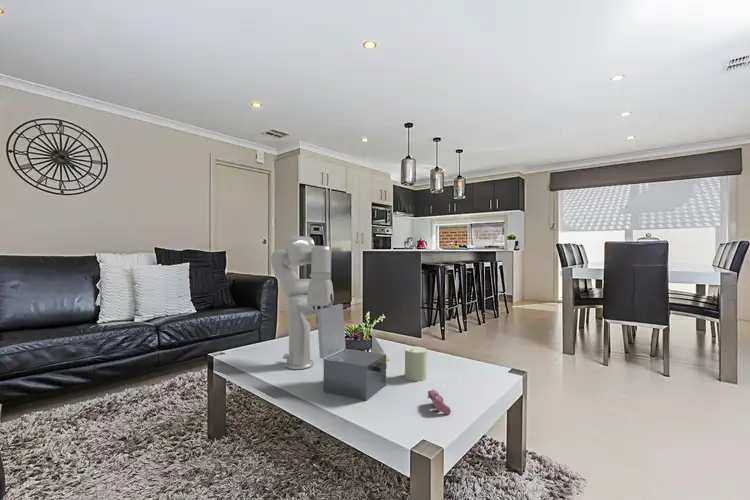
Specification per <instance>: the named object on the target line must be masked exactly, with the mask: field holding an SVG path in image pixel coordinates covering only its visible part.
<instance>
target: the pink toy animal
mask: <svg viewBox="0 0 750 500" xmlns="http://www.w3.org/2000/svg"><path fill="white" fill-rule="evenodd" d="M427 399H429V400H431V401H432V404H433V406H434V410H437V412H439V411H440V412H441V413H443V414H446V415H450V414H451V412H452V410H451V407H449V406H448V405H447V404H445V402H444V398H443V396H442V395H440V393H439V392H438V391H436V390H435V388H434V389H430V390H428V391H427Z"/></svg>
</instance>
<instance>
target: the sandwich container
mask: <svg viewBox="0 0 750 500" xmlns="http://www.w3.org/2000/svg"><path fill="white" fill-rule="evenodd" d="M372 353H379V354H386V353H385V351H384V349H383V347H382V346H381V345H380V343H379V342H378V340H377V338H376V337H375V335H374V333H372ZM388 362H391V360H390V358H389V357H388V355H387V354H386V363H388Z"/></svg>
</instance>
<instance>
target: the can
mask: <svg viewBox="0 0 750 500" xmlns="http://www.w3.org/2000/svg"><path fill="white" fill-rule="evenodd" d="M427 352H428V350H427V348H425V347H423V346H406V347H405V348H404V377H403V378H404V379H405V380H408V381H411V382H422V381H425V380H427V378H428V376H427V373H428V372H427V363H428V362H427V356H428V355H427Z"/></svg>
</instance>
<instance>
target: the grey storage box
mask: <svg viewBox="0 0 750 500" xmlns="http://www.w3.org/2000/svg"><path fill="white" fill-rule="evenodd" d="M386 355H387V354H386V353H385V354H379V353H372V352H366V351H359V350H356V349H351V348H345V349H343V350H340V351H338V352H336V353H334V354H332V355H330V356H327V357H325V358H323V385H322V386H323V387H322V388H323V391H324V392H325V393H328V394H332V395H333V394H334V395H338V396H342V397H346V398H352V399H356V400H360V401H364V402H367V401H368V400H370V399H371V398H372V397H373V396H375V395H376V394H377V393H379V391H381V390H382V389H383V388H384V387H386V386H387V369H388V368H387V365H388V364H387V362H386Z"/></svg>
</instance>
